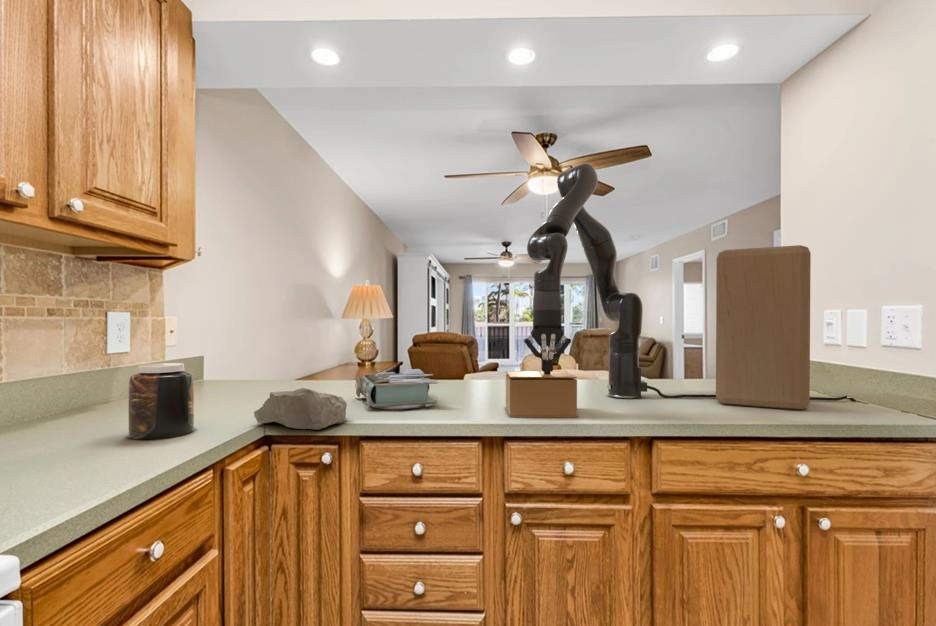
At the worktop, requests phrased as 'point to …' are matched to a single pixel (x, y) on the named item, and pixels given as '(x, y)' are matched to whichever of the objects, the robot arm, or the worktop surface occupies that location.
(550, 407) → the open shipping carton
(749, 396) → the wooden block
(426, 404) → the ornate book
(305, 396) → the stone
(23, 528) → the worktop surface
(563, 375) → the cardboard box flap
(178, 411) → the jar
